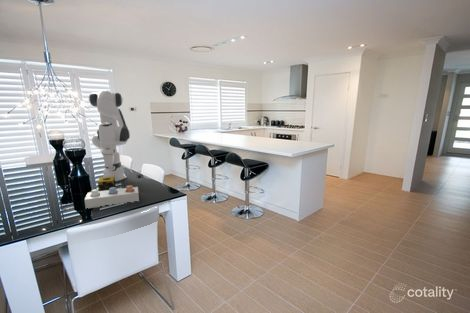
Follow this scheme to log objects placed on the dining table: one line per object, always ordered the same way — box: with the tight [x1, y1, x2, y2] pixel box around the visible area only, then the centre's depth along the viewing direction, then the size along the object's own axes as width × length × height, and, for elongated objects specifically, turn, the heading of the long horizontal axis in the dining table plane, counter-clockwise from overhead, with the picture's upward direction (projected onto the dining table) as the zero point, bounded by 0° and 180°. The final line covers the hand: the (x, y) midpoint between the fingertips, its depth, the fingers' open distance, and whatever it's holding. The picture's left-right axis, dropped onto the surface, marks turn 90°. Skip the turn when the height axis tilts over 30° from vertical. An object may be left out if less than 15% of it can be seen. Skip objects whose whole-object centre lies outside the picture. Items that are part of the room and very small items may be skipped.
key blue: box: [109, 186, 117, 194], centre depth 151 cm, size 4×4×5 cm
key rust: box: [125, 184, 134, 192], centre depth 155 cm, size 4×4×5 cm
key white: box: [90, 188, 99, 197], centre depth 147 cm, size 4×4×5 cm
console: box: [84, 186, 140, 210], centre depth 152 cm, size 12×30×6 cm, turn 114°
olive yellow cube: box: [97, 176, 117, 191], centre depth 167 cm, size 10×10×10 cm
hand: (110, 170), depth 148 cm, fingers closed
